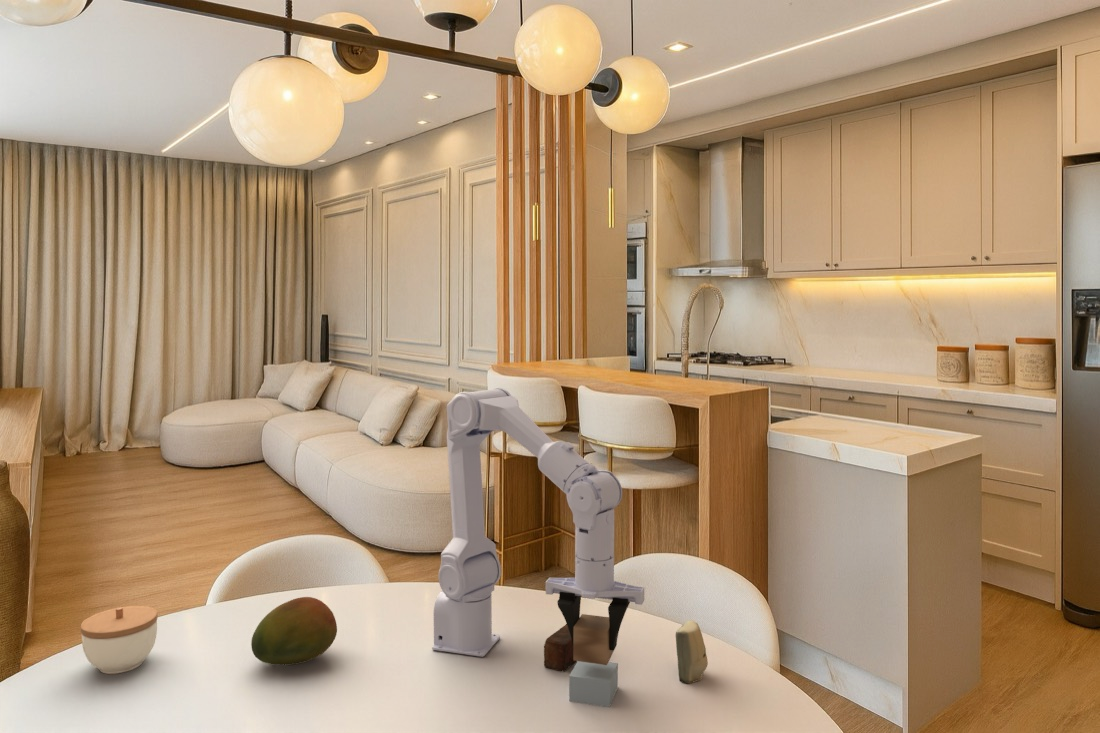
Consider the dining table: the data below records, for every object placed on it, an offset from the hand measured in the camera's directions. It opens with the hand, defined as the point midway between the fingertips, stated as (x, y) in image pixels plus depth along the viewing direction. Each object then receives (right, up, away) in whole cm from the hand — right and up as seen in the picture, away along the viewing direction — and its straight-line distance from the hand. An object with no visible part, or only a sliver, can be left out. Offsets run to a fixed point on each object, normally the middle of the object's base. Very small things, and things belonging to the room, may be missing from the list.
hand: (594, 645), depth 111 cm
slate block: (0, -8, +1) cm, 8 cm away
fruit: (-48, -7, +11) cm, 50 cm away
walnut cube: (0, -2, 0) cm, 2 cm away
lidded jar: (-76, -7, +10) cm, 76 cm away
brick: (-3, -7, +13) cm, 15 cm away
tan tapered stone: (+15, -7, +6) cm, 18 cm away
